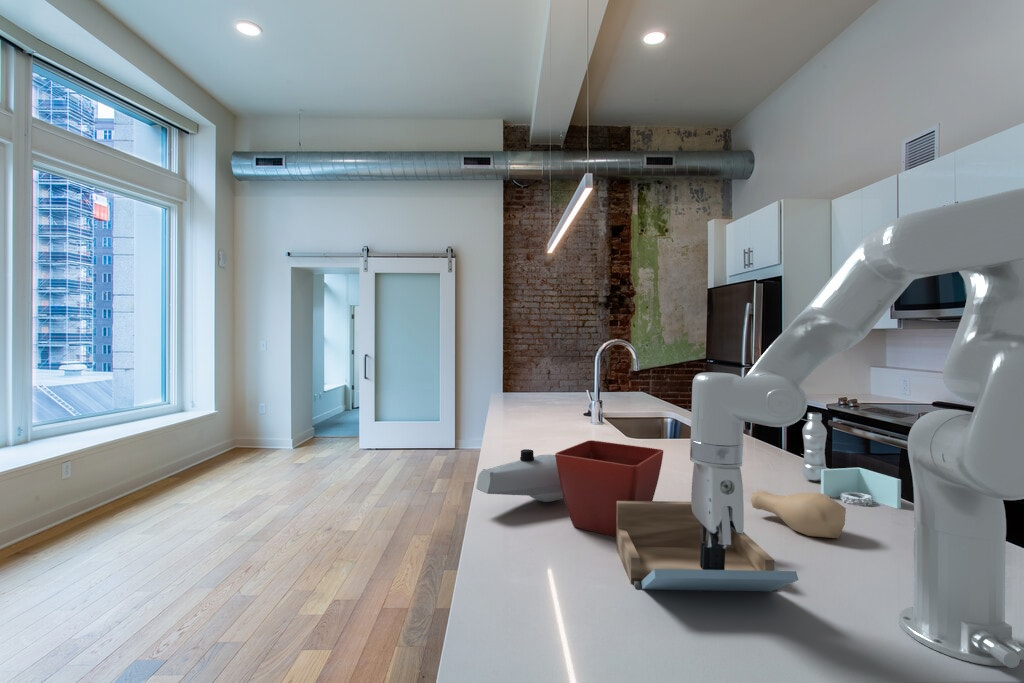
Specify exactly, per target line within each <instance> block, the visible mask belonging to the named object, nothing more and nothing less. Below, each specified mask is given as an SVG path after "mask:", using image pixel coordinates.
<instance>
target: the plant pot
mask: <svg viewBox="0 0 1024 683" xmlns="http://www.w3.org/2000/svg"><path fill="white" fill-rule="evenodd" d="M554 455H555V456H556V464H557V470H558V476H559V481H560V485H561V490H562V493H563V497H564V498H563V500H564V504H565V506H566V510H567V513H568V516H569V519H570V522H571V524H572V525H573V527H575V528H578V529H581V530H585V531H590V532H593V533H598V534H600V535H601V534H602V535H606V536H609V537H614V538H616V505H617V501H654V496H655V494H656V491H657V490H656V489H657V486H658V483H659V477H660V474H661V469H662V464H663V458H664V449H661V448H654V447H646V446H640V445H638V446H637V445H631V444H623V443H615V442H610V441H609V442H608V441H600V440H592V439H591V440H586V441H583V442H580V443H578V444H576V445H574V446H571V447H570V446H569V447H568V448H565V449H563V450H560V451H557V452H556V453H554Z"/></svg>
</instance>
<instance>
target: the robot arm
mask: <svg viewBox="0 0 1024 683" xmlns="http://www.w3.org/2000/svg"><path fill="white" fill-rule="evenodd" d="M956 272H958V273H959V275H960V276H961V277H962V279H963V281H964V283H965V286H966V287H965V288H966V302H965V306H964V309H963V313H962V316H961V318H960V321H959V324H958V326H957V330H956V333H955V335H954V338H953V341H952V344H951V346H950V349H949V351H948V354H947V357H946V359H945V363H944V366H943V369H942V380H943V382H944V384H945V386H946V388H947V390H949V392H950V393H952V394H953V395H955V396H956V397H958V398H959V399H962V400H964V401H966V402H971V403H974V404H975V405H974V408H973V411H972V412H971V411H967V410H961V409H953V408H952V409H950V408H949V409H948V408H946V409H938V410H933V411H930V412H928V413H926V414H924V415H922V416H920V417H919V418H918V419H917V420H916V421H915V422H914V424H912V426H911V428H910V431H909V433H908V435H907V436H908V437H907V454H908V460H909V465H910V470H911V476H912V477H911V478H912V487H913V588H912V589H913V590H912V592H913V595H912V597H913V601H912V602H913V606H909V607H906V608H904V609H903V610H902V611H900V614H899V623H900V626H901V628H902V629H903V630H904V631H905V633H906V634H908V635H909V636H910V637H912V638H913V639H914V640H916V642H917V641H918V642H919V643H921V644H923V645H925V646H926V647H928V648H929V649H932V650H933V651H937V652H939V653H941V654H943V655H947V656H949V657H951V658H954V659H958V660H961V661H964V662H968V663H973V664H976V665H977V664H978V665H983V666H989V667H990V666H992V667H1007V668H1009V669H1011V668H1012V669H1014V668H1016V667H1018V666H1019V664H1020V661H1021V660H1023V661H1024V647H1023V646H1021V645H1020V644H1019V642H1018V641H1017V640H1015V638H1014V637H1013V626H1012V625H1010V624H1009V623H1007V622H1006V542H1007V541H1006V540H1007V539H1006V537H1007V518H1006V508H1005V504H1004V501H1017V500H1024V187H1021V188H1016V189H1015V188H1014V189H1011V190H1008V191H1003V192H999V193H995V194H990V195H987V196H986V195H985V196H982V197H977V198H973V199H969V200H964V201H960V202H956V203H952V204H947V205H943V206H938V207H933V208H928V209H925V210H920V211H916V212H911V213H909V214H908V213H907V214H906V215H902V216H899V217H897V218H894V219H892V220H891V221H889V222H887V223H885V224H882V225H881V226H878V227H876V228H874V229H873V230H871V231H870V232H868V233H867V234H866V235H865V236H864V237H863V238H862V239H861V240H860V241H859V242H858V243H857V244H856V246H855V247H854V248H853V249H852V250H851V252H850V253H849V254H848V255H847V257H846V258H845V259H844V261H843V262H842V263H841V264H840V265H839V267H838V268H837V269H836V270H835V272H834V273H833V274H832V275H831V277H830V278H829V279H828V281H826V283H825V284H824V285H823V287H822V288H820V290H819V292H818V293H817V294H816V295H815V296H814V298H812V299H811V301H810V302H809V304H808V305H807V306H806V307H805V308H804V309H803V310H802V311H801V312H800V313H799V314H798V315H797V316H796V317H795V318H794V319H793V321H791V323H790V324H789V325H788V326H787V327H786V328H785V330H783V332H781V333H780V334H779V335H778V336H777V338H775V340H774V341H773V342H771V344H770V345H769V346H768V348H766V350H765V351H764V352H763V354H762V355H761V356H760V357H759V358H758V359H757V361H756V362H755V363H754V365H752V367H751V368H750V369H749V371H748V372H747V373H746V374H745V376H744V377H743V376H740V375H738V374H736V373H735V374H734V373H730V372H729V373H728V372H727V373H726V372H712V371H711V372H710V371H709V372H700V373H697V374H696V375H695V376H694V378H693V379H692V385H691V386H692V388H691V393H692V394H691V414H690V415H691V418H690V420H691V422H690V446H689V448H690V449H689V460H690V461H691V462H692V463H693V468H692V469H693V470H692V479H691V497H690V498H691V499H690V502H691V507H692V512H693V514H694V515H695V516H696V518H697V519H698V520H699V521H700V539H701V541H702V542H701V550H700V567H701V568H702V569H703V570H725V549H726V545H731V533H730V528H731V529H732V530H733V531H734V532H735V533H736V534H738V535H741V534H742V533H743V532H744V530H745V529H744V528H745V527H744V525H745V524H744V523H745V521H744V520H745V518H744V517H745V514H744V513H745V512H744V511H745V510H744V507H745V506H744V505H745V504H744V486H743V485H744V484H743V478H742V475H743V474H742V470H741V467H742V466H743V458H744V457H743V456H744V455H743V453H744V452H743V450H744V448H743V447H744V427H745V426H744V424H745V423H744V422H747V423H752V424H757V425H761V426H767V427H774V428H782V427H783V428H784V427H788V426H791V425H794V424H795V423H797V422H799V421H800V420H802V418H803V417H804V416H805V414H806V411H807V408H808V397H807V396H806V395H807V394H806V393H805V391H804V389H803V388H802V384H803V383H804V382H805V380H807V378H808V377H809V376H810V375H811V374H812V373H813V372H814V371H815V370H816V369H817V368H819V367H820V366H821V365H822V364H824V363H825V362H826V361H828V360H829V359H831V358H833V357H835V356H836V355H838V354H841V353H842V352H845V351H847V350H849V349H851V348H852V347H854V346H856V345H857V344H858V343H860V342H861V341H862V340H863V339H865V338H866V337H867V336H868V334H869V333H870V332H871V331H872V329H873V328H874V327H875V326H876V325H877V323H879V321H880V320H881V319H882V317H883V316H885V314H886V312H887V311H888V310H889V309H890V308H891V307H892V306H893V305H894V303H895V302H896V301H897V300H898V299H899V297H900V296H901V295H902V294H903V293H904V292H905V290H906V289H907V288H908V287H909V286H910V284H911V283H912V282H913V281H915V280H918V279H923V278H928V277H932V276H938V275H945V274H950V273H956ZM703 542H704V543H703Z"/></svg>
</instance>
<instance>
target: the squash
mask: <svg viewBox="0 0 1024 683" xmlns="http://www.w3.org/2000/svg"><path fill="white" fill-rule="evenodd" d="M749 501H750V502H751V506H752V508H754V509H756V510H762V511H765V512H768V513H771V514H773V515H775V516H777V517H778V518H780V519H782V521H783V522H784V523H785V524H786V525H787V526H788V527H789V528H790V529H791V530H793V531H796V532H798V533H801V534H802V535H803V534H804V535H805V536H808V537H818V538H828V539H840V537H841V534H842V532H843V529H844V528H845V525H846V511H847V510H846V509H847V508H846V507H845V506H843V505H841V503H839V502H837V501H836V500H835V499H833V497H831V498H830V497H829V496H827V495H826V494H822V493H821V492H801V493H800V492H799V493H793V494H789V495H778V494H773V493H770V492H768V491H764V490H759V489H758V490H756V491H753V492H752V495H751V496H750V500H749Z"/></svg>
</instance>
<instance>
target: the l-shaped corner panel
mask: <svg viewBox="0 0 1024 683" xmlns="http://www.w3.org/2000/svg"><path fill="white" fill-rule="evenodd" d="M820 493H822V494H826V495H827V496H829V497H831V498H840V500H841V502H842V503H846V504H848V505H853V506H859V507H861V506H862V507H866V506H873V502H877V503H879V504H882V505H886V506H888V507H891V508H894V509H897V510H898V509H899V510H900V509H901V508H902V506H901V505H902V499H901V498H902V496H901V495H902V479H900V478H896V477H893V476H890V475H887V474H883V473H879V472H876V471H873V470H869V469H866V468H862V467H845V468H827V469H823V470H821V481H820ZM839 496H840V497H839Z"/></svg>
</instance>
